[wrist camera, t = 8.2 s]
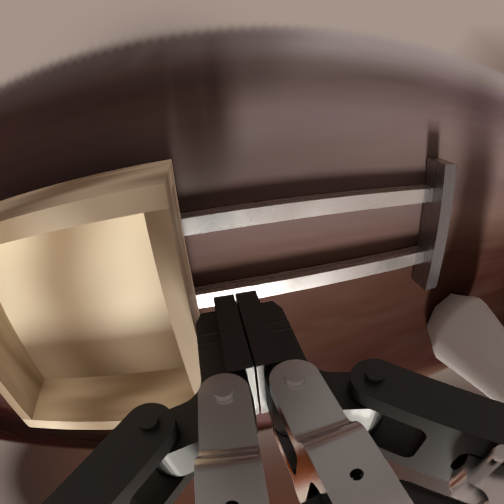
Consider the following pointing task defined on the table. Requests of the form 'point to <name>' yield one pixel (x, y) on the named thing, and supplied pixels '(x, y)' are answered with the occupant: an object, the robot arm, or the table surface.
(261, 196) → the table surface
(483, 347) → the salt shaker
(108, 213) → the wooden tray
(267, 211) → the rail
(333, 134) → the table surface
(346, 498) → the robot arm
